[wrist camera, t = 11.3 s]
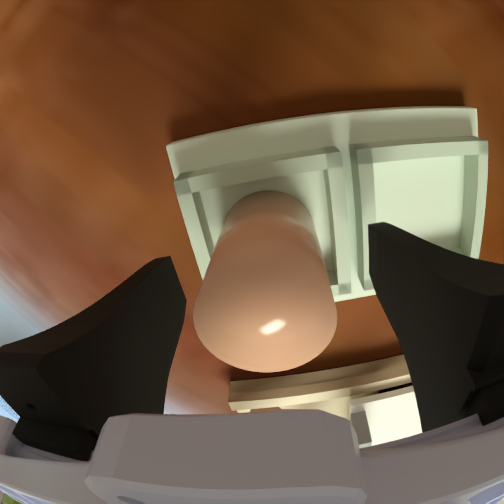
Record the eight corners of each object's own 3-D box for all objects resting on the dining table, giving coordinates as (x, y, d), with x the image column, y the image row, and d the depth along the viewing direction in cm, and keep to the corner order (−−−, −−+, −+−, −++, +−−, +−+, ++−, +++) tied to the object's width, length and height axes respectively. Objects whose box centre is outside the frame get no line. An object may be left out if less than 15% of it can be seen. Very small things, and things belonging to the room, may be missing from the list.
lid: (476, 365, 17) (492, 396, 14) (449, 422, 21) (459, 448, 18) (349, 399, 18) (357, 438, 16) (346, 449, 22) (350, 479, 19)
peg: (305, 181, 13) (327, 248, 7) (321, 264, 15) (341, 361, 9) (212, 201, 13) (172, 277, 8) (236, 280, 15) (218, 378, 10)
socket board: (465, 106, 12) (491, 112, 10) (458, 265, 16) (476, 286, 14) (171, 142, 13) (156, 151, 11) (219, 306, 17) (215, 334, 15)
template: (464, 337, 18) (474, 354, 17) (436, 411, 23) (442, 426, 21) (230, 381, 20) (228, 402, 19) (257, 444, 25) (256, 461, 24)
